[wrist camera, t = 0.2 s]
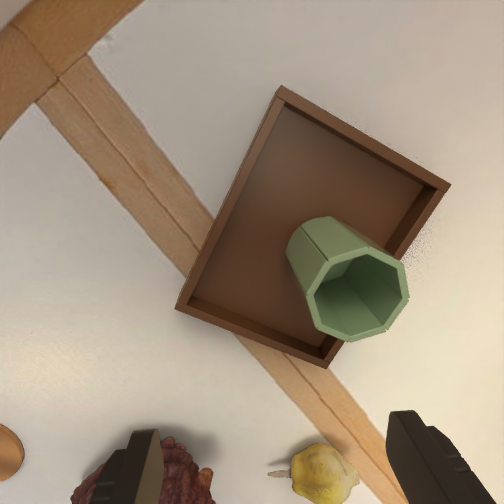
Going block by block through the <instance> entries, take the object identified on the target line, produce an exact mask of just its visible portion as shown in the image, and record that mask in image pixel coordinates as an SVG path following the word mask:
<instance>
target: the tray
mask: <svg viewBox="0 0 504 504" xmlns="http://www.w3.org/2000/svg"><path fill="white" fill-rule="evenodd" d="M450 186H451V184H450V183H448V182H446V181H445V180H443V179H441V178H440V177H438V176H436V175H434V174H433V173H431V172H429V171H428V170H426V169H424V168H423V167H421V166H419V165H417V164H416V163H414V162H412V161H411V160H409V159H407V158H405V157H404V156H402V155H400V154H399V153H397V152H395V151H393V150H392V149H390V148H388V147H387V146H385V145H383V144H381V143H380V142H378V141H376V140H375V139H373V138H371V137H369V136H368V135H366V134H364V133H363V132H361V131H359V130H358V129H356V128H354V127H352V126H351V125H349V124H347V123H346V122H344V121H342V120H340V119H339V118H337V117H335V116H334V115H332V114H330V113H328V112H327V111H325V110H323V109H322V108H320V107H318V106H316V105H315V104H313V103H311V102H310V101H308V100H306V99H304V98H303V97H301V96H299V95H298V94H296V93H294V92H292V91H291V90H289V89H287V88H286V87H284V86H282V85H281V86H280V87H279V88H278V89H277V91H276V92H275V95H274V97H273V99H272V101H271V103H270V105H269V107H268V109H267V111H266V114H265V116H264V118H263V120H262V122H261V124H260V126H259V128H258V130H257V132H256V135H255V137H254V139H253V141H252V143H251V145H250V147H249V149H248V151H247V153H246V156H245V158H244V160H243V162H242V164H241V166H240V168H239V170H238V172H237V174H236V177H235V179H234V181H233V183H232V185H231V187H230V189H229V191H228V193H227V195H226V198H225V200H224V202H223V204H222V206H221V208H220V210H219V212H218V214H217V217H216V219H215V221H214V223H213V225H212V227H211V229H210V231H209V233H208V235H207V238H206V240H205V242H204V244H203V246H202V248H201V250H200V252H199V254H198V256H197V259H196V261H195V263H194V265H193V267H192V269H191V271H190V273H189V275H188V277H187V280H186V282H185V284H184V286H183V288H182V290H181V292H180V294H179V297H178V300H177V303H176V306H175V309H176V310H178V311H181V312H183V313H186V314H188V315H191V316H193V317H196V318H198V319H201V320H203V321H206V322H209V323H211V324H214V325H216V326H219V327H221V328H224V329H226V330H229V331H231V332H234V333H236V334H239V335H241V336H244V337H246V338H249V339H251V340H254V341H256V342H259V343H261V344H264V345H266V346H269V347H271V348H274V349H277V350H279V351H282V352H284V353H287V354H289V355H292V356H294V357H297V358H299V359H302V360H304V361H307V362H309V363H312V364H314V365H317V366H319V367H322V368H324V369H327V368H328V366H329V365H330V362H331V361H332V360H333V358H334V357H335V355H336V354H337V352H338V351H339V350H340V348H341V347H342V345H343V344H344V342H345V341H343V340H341V339H339V338H336V337H334V336H331V335H329V334H327V333H324V332H322V331H320V330H317V328H315V326H314V324H313V322H312V319H311V317H310V315H309V313H308V310H307V308H306V306H305V304H304V301H303V299H302V297H301V295H300V292H299V290H298V288H297V286H296V283H295V281H294V279H293V277H292V273H291V270H290V267H289V264H288V261H287V257H286V254H285V252H286V251H285V250H286V249H287V245H288V242H289V240H290V238H291V236H292V234H293V233H294V232H295V230H296V229H297V228H298V227H299V226H301V225H302V224H303V223H305V222H307V221H309V220H311V219H314V218H318V217H326V216H329V217H330V216H332V217H333V218H335V219H338V220H340V221H342V222H344V223H345V224H347V225H349V226H351V227H353V228H355V229H356V230H358V231H359V232H360V233H362V234H363V235H365V236H366V237H367V238H369V239H370V240H371V241H373V242H374V243H376V244H377V245H378V246H380V247H381V248H383V249H384V250H385V251H387V252H388V253H390V254H391V255H392V256H394V257H395V258H397V259H398V260H399V261H400V260H401V258H402V257H403V255H404V254H405V252H406V251H407V249H408V248H409V246H410V245H411V243H412V242H413V240H414V239H415V237H416V236H417V234H418V233H419V231H420V230H421V229H422V227H423V226H424V224H425V223H426V221H427V220H428V218H429V217H430V215H431V214H432V212H433V211H434V209H435V208H436V206H437V205H438V203H439V202H440V200H441V199H442V198H443V196H444V195H445V193H446V192H447V191H448V189H449V188H450Z"/></svg>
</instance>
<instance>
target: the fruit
mask: <svg viewBox="0 0 504 504" xmlns="http://www.w3.org/2000/svg"><path fill="white" fill-rule="evenodd" d="M268 476H271V477H279V478H280V477H283V478H284V477H286V478H291V477H292V482H293V483H292V489H293V491H294V492H295V493H296V494H298V495H300V496H303V497H305V498H307V499H308V500H310V501H312V502H313V503H315V504H342V503H343V502H345V501H346V500H347V498H348V497H349V495H350V492H351V489H352V487H353V486H355V485H357V484H359V483H360V479H359V476H358V472H357V469H356V467H355V466H354V465H353V464H352V463H350V462H349V461H348V460H346V459H345V458H344V457H343V456H342V455H341V454H340V453H339V452H338V451H336V450H335V449H334V448H333V447H331V446H329V445H326V444H323V443H316V444H313V445H311V446H309V447H308V448H306V449H305V450H304V451H302V452H301V453H298V454H296V455H295V456H294V457H293V458H292V461H291V468H290V469H289V470H288V471H284V470H282V471H275V472H271V473H268Z"/></svg>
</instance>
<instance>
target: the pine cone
mask: <svg viewBox="0 0 504 504" xmlns="http://www.w3.org/2000/svg"><path fill="white" fill-rule="evenodd" d="M160 445H161V451H162V456H163V464H164V471H163V481H162V486H161V491H160V496H159V501H158V504H216V503H215V501H214V500H212V496H211V493H210V485H211V481H212V476H213V471H212V470H211V469H210V468H203V469H202V470H201V471H199V472H198V470H199V467H198V466H197V464H196V463H194V462H193V457H192V456H191V455H190V454H188V453H186V447H185V445H184V444H175V439H174V438H173V437H168V438H166V439H164V441H163V442H160ZM103 466H104V464H102V465H101V466H100V467H99V468H98V469H97V471H96V472H94V473H92V474H91V475H89V476H88V477H87V478H86V480H83V482H82V483H81V485H80V486H78V487H77V488H76V489H75V490H74V494H73V495H72V496H71V498H70V499H71V501H72V504H88V503H90V498H91V495H92V493H93V490H94V488H95V487H96V483H97V480H98V478H99V475H100V473H101V470H102V468H103Z"/></svg>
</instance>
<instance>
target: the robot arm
mask: <svg viewBox="0 0 504 504" xmlns="http://www.w3.org/2000/svg"><path fill="white" fill-rule="evenodd" d="M386 453H387V457H388V460H389V463H390V465H391V467H392V469H393V471H394V473H395V476H396V478H397V480H398V482H399V484H400V486H401V488H402V490H403V492H404V494H405V496H406V498H407V500H408V502H409V504H496V502H495V501H494V500H493V498H492V497H491V495H490V494H489V493H488V491H487V490H486V489H485V487H484V486H483V485H482V483H481V482H480V480H479V479H478V478H477V476H476V475H475V474H474V472H473V471H471V469H470V467H469V465H468V464H467V463H466V461H465V460H464V458H462V457H461V454H460V453H459V452H458V450H457V449H456V447H455V446H454V445H453V443H452V442H451V441H450V439H449V438H448V437H446V436H445V435H444V434H443V433H442V432H440V431H439V430H438V429H437V428H435V427H434V426H426V425H425V424H424V423H423V421H422V420H421V418H420V417H419V415H418V414H417V413H416V412H415V411H414V410H406V411H393V412H391V413H390V415H389V422H388V429H387V437H386ZM163 471H164V464H163V456H162V451H161V445H160V439H159V434H158V430H157V429H147V430H135V431H133V433H132V435H131V438H130V440H129V443H128V446H127V449H124V450H116V451H115V452H114V453H113V454H112V456H111V457H110V458H109V459H108V461H107V462H106V463H105V464H104V466H103V468H102V470H101V473H100V475H99V478H98V480H97V483H96V487H95V488H94V490H93V493H92V495H91V498H90V503H88V504H158V501H159V496H160V491H161V486H162V481H163Z"/></svg>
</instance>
